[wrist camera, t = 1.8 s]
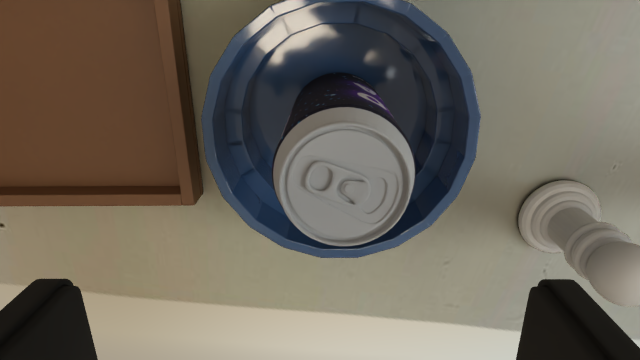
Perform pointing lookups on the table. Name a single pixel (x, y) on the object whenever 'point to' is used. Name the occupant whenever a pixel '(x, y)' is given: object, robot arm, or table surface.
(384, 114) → the beverage can
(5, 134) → the tray
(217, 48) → the table surface
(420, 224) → the bowl
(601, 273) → the chess piece
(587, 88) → the table surface
